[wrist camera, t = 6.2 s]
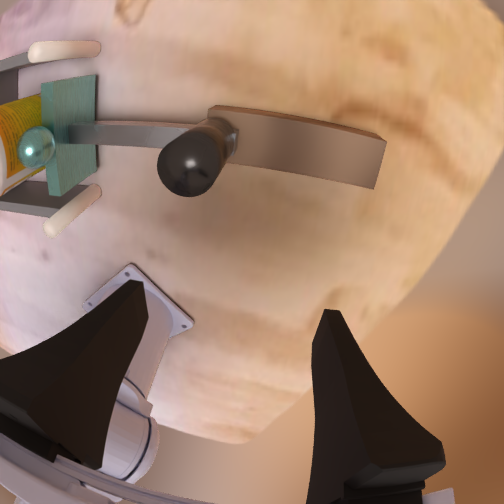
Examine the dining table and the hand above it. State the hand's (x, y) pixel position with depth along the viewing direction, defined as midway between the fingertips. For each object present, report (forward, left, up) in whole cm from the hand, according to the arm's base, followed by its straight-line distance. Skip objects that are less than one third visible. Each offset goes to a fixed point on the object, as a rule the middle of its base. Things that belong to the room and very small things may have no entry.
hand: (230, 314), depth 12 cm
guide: (+5, +2, -10) cm, 12 cm away
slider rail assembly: (-2, +9, -10) cm, 13 cm away
